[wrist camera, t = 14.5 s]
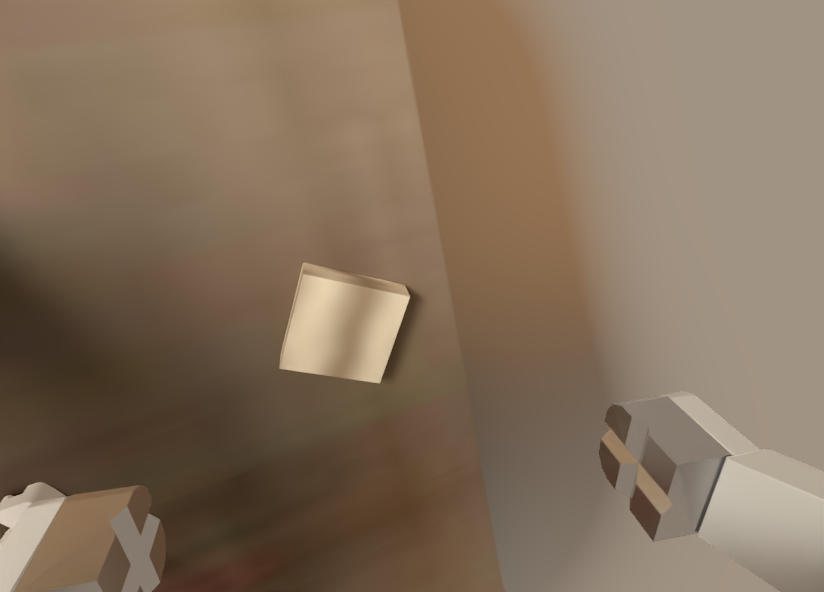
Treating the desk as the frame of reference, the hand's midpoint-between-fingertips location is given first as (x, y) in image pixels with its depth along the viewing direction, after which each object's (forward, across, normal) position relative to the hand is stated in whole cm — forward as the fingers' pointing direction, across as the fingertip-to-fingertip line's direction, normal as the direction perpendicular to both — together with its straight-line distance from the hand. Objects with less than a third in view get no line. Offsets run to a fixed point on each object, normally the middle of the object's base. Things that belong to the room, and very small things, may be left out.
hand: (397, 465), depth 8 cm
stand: (+31, 0, +14) cm, 34 cm away
